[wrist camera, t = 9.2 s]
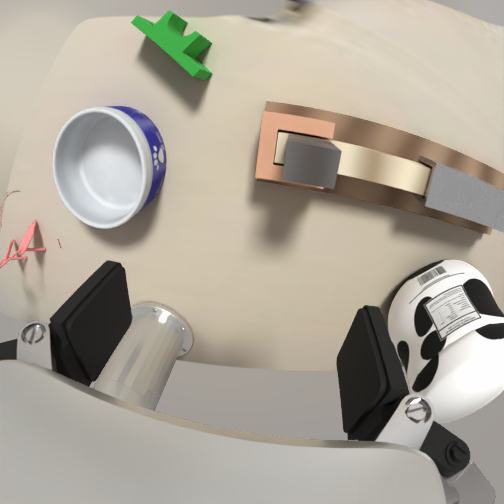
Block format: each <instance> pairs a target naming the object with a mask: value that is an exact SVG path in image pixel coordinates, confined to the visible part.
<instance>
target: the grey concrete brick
mask: <svg viewBox="0 0 504 504" xmlns="http://www.w3.org/2000/svg"><path fill="white" fill-rule="evenodd" d="M420 161H422V162H424V163H426V164H428V165H430V166H432V167H433V168H432V172H431V176H430V180H429V184H428V187H427V191H426V194H425V196H424V195H420V194H417V193H413V192H411V195H412V196H414V197H415V198H416V199H417V200H418V201H419V202H421V203H422V204H423V205H424V206H426V207H429V208H433V209H436V210H439V211H443V212H446V213H449V214H452V215H456V216H459V217H462V218H465V219H468V220H471V221H474V222H477V223H480V224H482V225H485V226H488V227H491V228H494V229H496V230H499V231H502V232H504V190H502V189H501V188H499V187H497V186H495V185H492V184H490V183H488V182H486V181H484V180H482V179H479V178H477V177H475V176H473V175H470V174H468V173H466V172H463V171H461V170H458V169H456V168H453V167H451V166H448V165H446V164H443V163H440V162H438V161H435V160H432V159H429V158H426V157H424V156H421V155H420Z"/></svg>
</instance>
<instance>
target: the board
mask: <svg viewBox="0 0 504 504" xmlns="http://www.w3.org/2000/svg"><path fill="white" fill-rule="evenodd" d="M265 111H269V112H277V113H284V114H291V115H297V116H303V117H308V118H314V119H319V120H324V121H329V122H333V123H335V128H334V134H333V139H331V138H326V137H321V136H316V135H311V134H305V133H299V132H293V131H287V130H281V129H279V131H287V132H293V133H299V134H305V135H310V136H316V137H321V138H326V139H331V140H335V141H340V142H344V143H349V144H353V145H357V146H361V147H365V148H369V149H373V150H377V151H381V152H384V153H388V154H391V155H395V156H398V157H401V158H405V159H408V160H411V161H414V162H417V163H420V164H423V165H426V166H429V167H432V166H430V165H428V164H426V163H424V162H422V161H420V155H421V156H424V157H426V158H429V159H432V160H435V161H438V162H440V163H443V164H446V165H448V166H451V167H453V168H456V169H458V170H461V171H463V172H466V173H468V174H470V175H473V176H475V177H477V178H479V179H482V180H484V181H486V182H488V183H490V184H492V185H495V186H497V187H499V188H501V189H502V190H504V174H503V173H501V172H499V171H497V170H495V169H493V168H491V167H490V166H488V165H486V164H483V163H481V162H479V161H477V160H475V159H473V158H471V157H469V156H466V155H464V154H462V153H460V152H457V151H455V150H453V149H450V148H448V147H445V146H443V145H440V144H438V143H435V142H433V141H430V140H427V139H425V138H422V137H419V136H416V135H413V134H410V133H407V132H404V131H401V130H398V129H395V128H392V127H388V126H385V125H382V124H378V123H375V122H371V121H367V120H363V119H360V118H356V117H352V116H347V115H343V114H339V113H334V112H329V111H324V110H319V109H314V108H309V107H303V106H297V105H291V104H284V103H277V102H269V101H266V108H265ZM432 168H433V167H432ZM257 181H262V182H269V183H275V184H281V185H288V186H293V187H299V188H305V189H310V190H316V191H321V192H326V193H331V194H336V195H341V196H346V197H351V198H356V199H360V200H365V201H369V202H373V203H378V204H382V205H386V206H390V207H394V208H398V209H402V210H406V211H410V212H414V213H418V214H422V215H425V216H429V217H432V218H436V219H440V220H443V221H446V222H450V223H453V224H456V225H460V226H463V227H466V228H469V229H473V230H476V231H479V232H482V233H485V234H488V235H490V234H491V231H492V228H491V227H488V226H485V225H482V224H480V223H477V222H474V221H471V220H468V219H465V218H462V217H459V216H456V215H452V214H449V213H446V212H443V211H439V210H436V209H433V208H429V207H426V206H424V205H423V204H422V203H421V202H419V201H418V200H417V199H416V198H415V197H414V196H412V195H411V192H410V191H406V190H403V189H399V188H395V187H391V186H388V185H384V184H380V183H376V182H372V181H367V180H363V179H359V178H355V177H350V176H345V175H341V174H337V178H336V183H335V188H334V189H329V188H323V189H320V188H315V187H309V186H304V185H298V184H292V183H287V182H280V181H274V180H268V179H261V178H257Z"/></svg>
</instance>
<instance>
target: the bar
mask: <svg viewBox="0 0 504 504" xmlns="http://www.w3.org/2000/svg"><path fill="white" fill-rule="evenodd" d="M274 162H275V163H281V164H284V169H283V176H282V180H285V181H291V182H297V183H303V184H308V185H314V186H319V187H324V188H329V189H334V188H335V183H336V178H337V174H341V175H345V176H350V177H355V178H359V179H363V180H367V181H372V182H376V183H380V184H384V185H388V186H391V187H395V188H399V189H403V190H406V191H410V192H413V193H417V194H420V195H424V196H425V194H426V191H427V187H428V184H429V180H430V176H431V172H432V167H429V166H426V165H423V164H420V163H417V162H414V161H411V160H408V159H405V158H401V157H398V156H395V155H391V154H388V153H384V152H381V151H377V150H373V149H369V148H365V147H361V146H357V145H353V144H349V143H344V142H340V141H335V140H331V139H326V138H321V137H316V136H310V135H305V134H299V133H293V132H287V131H279V132H278V139H277V146H276V154H275V161H274Z"/></svg>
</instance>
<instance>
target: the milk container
mask: <svg viewBox="0 0 504 504" xmlns="http://www.w3.org/2000/svg"><path fill="white" fill-rule="evenodd" d="M388 332H389V335H390V338H391V341H392V342H393V344H394V346H395V349H396V352H397V355H398V358H399V359H400V361H401V362H402V364H403V365H404V367H405V370H406V374H407V378H408V383H409V387H410V391H411V393H412V394H420V395H422V396H425V397H426V398H427V399H429V400H430V402H431V403H432V404H433V407H434V409H435V417H434V421H436V422H437V423H438V424H443V423H448V422H452V421H455V420H457V419H460V418H463V417H465V416H467V415H469V414H471V413H473V412H475V411H477V410H478V409H480V408H482V407H483V406H485V405H486V404H488V403H489V402H490V401H492V400H493V399H494V398H495V397H497V396H498V395H499V394H500V393H501V392H502V391H503V390H504V314H503V313H502V312H501V310H500V309H499V307H498V306H497V304H496V302H495V299H494V296H493V293H492V290H491V288H490V286H489V284H488V282H487V280H486V279H485V277H484V276H483V275H482V274H481V273H480V272H479V271H478V270H477V269H475V268H474V267H473V266H471V265H470V264H468V263H466V262H464V261H461V260H451V259H446V260H441V261H438V262H434V263H431V264H429V265H427V266H425V267H424V268H422V269H420V270H419V271H417V272H416V273H415V274H413V275H412V276H411V277H410V278H409V279H408V280H407V281H406V282H405V283H404V284H403V285H402V286H401V288H400V289H399V291H398V292H397V294H396V296H395V298H394V299H393V301H392V304H391V307H390V310H389V314H388Z"/></svg>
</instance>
